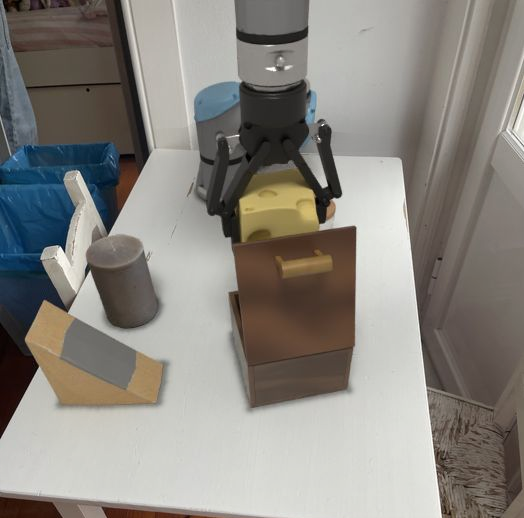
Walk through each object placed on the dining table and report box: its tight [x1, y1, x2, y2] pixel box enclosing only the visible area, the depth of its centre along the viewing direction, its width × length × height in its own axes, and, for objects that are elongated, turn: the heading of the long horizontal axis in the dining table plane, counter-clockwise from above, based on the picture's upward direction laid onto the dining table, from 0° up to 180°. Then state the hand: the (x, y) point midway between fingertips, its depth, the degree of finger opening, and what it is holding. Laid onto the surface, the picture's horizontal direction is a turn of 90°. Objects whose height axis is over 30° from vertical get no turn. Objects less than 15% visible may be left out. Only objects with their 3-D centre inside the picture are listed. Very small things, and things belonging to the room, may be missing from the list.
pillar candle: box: [85, 233, 159, 329], centre depth 86 cm, size 10×10×15 cm
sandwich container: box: [24, 299, 164, 406], centre depth 73 cm, size 9×15×15 cm, turn 90°
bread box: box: [227, 290, 355, 409], centre depth 78 cm, size 17×16×10 cm
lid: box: [231, 225, 358, 366], centre depth 62 cm, size 17×16×6 cm
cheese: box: [234, 167, 319, 243], centre depth 66 cm, size 10×11×10 cm
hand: (274, 248), depth 69 cm, fingers closed on cheese, 11 cm apart
